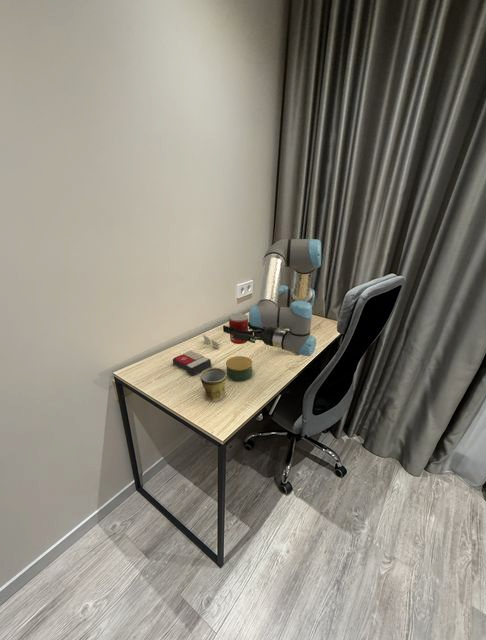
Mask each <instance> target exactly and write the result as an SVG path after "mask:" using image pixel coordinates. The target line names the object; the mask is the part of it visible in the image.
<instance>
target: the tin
mask: <svg viewBox="0 0 486 640" xmlns="http://www.w3.org/2000/svg"><path fill="white" fill-rule="evenodd" d="M225 367H226V378H228V379H229V380H231V381H233V382H245V381H247V380H249V379H251V378H252V376H253V360H252V359H251V358H249V357H247V356H243V355H237V356H236V355H235V356H232V357H229V358H228V359H227V360H226V361H225Z"/></svg>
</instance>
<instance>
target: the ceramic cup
mask: <svg viewBox="0 0 486 640" xmlns="http://www.w3.org/2000/svg"><path fill="white" fill-rule="evenodd" d="M199 379H200V382H201V384H202V387H203V390H204V392H205V396H206V398H207V400H208V401H211V402H217V401H220V400H222V399H223V397H225V396H224V395H225V389H226V383H227V371H226V370H225V369H223V368H220V367H212V366H211V367H209V368H207V369H205V370H203V371H201V372H200V374H199Z"/></svg>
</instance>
